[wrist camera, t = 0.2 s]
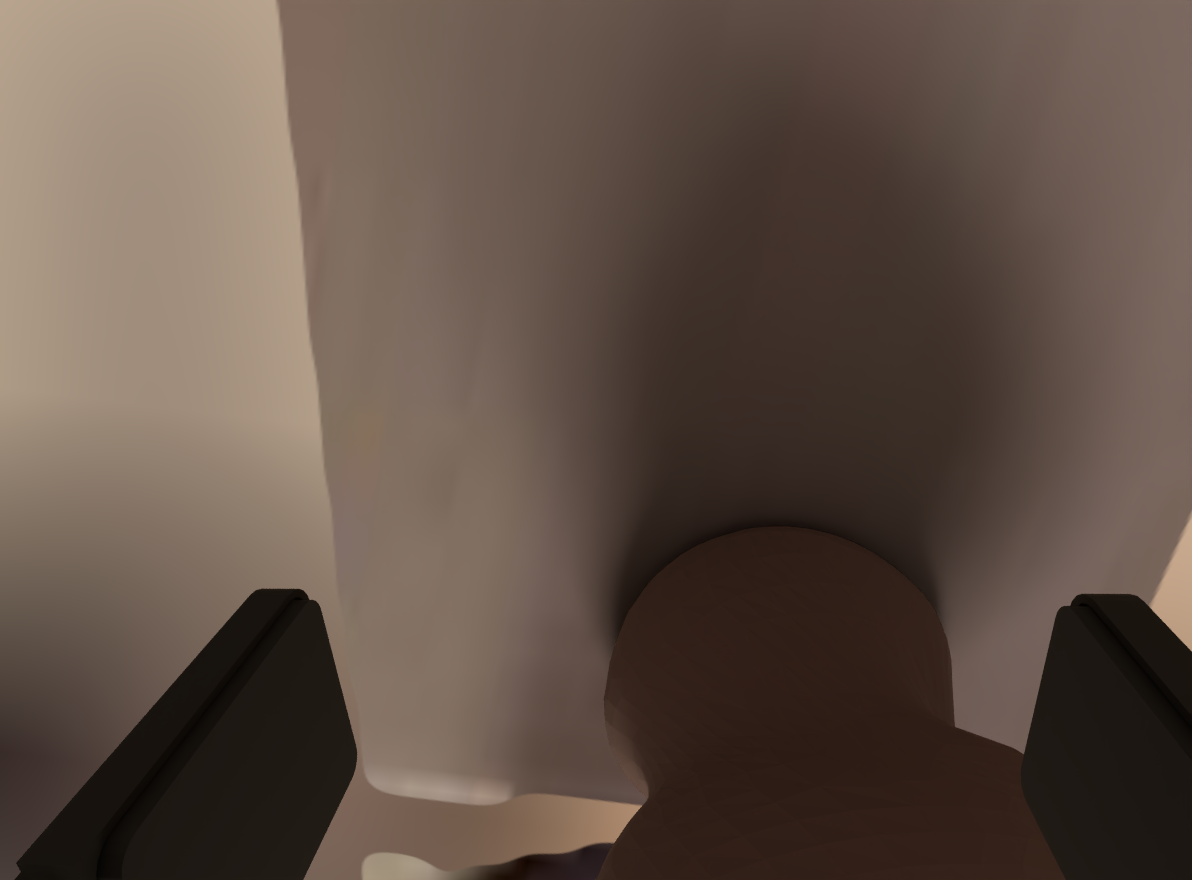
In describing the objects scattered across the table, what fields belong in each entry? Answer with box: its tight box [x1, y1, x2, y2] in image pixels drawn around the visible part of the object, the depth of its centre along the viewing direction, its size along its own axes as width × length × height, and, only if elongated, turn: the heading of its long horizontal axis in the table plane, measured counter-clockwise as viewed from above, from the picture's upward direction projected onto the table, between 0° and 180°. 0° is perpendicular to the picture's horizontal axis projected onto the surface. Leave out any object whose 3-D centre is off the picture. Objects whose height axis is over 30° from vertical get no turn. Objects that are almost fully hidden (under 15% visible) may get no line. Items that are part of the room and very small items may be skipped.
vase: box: [596, 526, 1066, 880], centre depth 42 cm, size 27×27×30 cm
